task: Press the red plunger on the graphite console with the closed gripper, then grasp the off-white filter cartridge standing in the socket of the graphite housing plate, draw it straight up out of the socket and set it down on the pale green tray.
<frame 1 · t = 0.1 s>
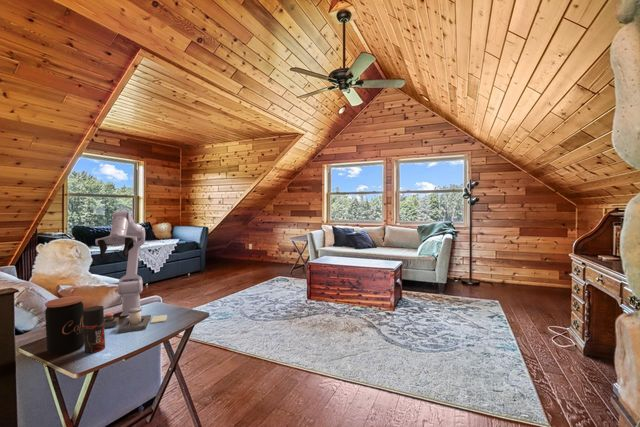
hand: (113, 255, 123), 32 cm above the table, tool tilted 50°, fingers open, 7 cm apart
cartridge: (135, 317, 133), in the housing
deodorant: (95, 350, 111), on the table
coffee jar: (66, 349, 112), on the table
housing: (135, 325, 134), on the table
plunger: (109, 318, 133), point 3 cm above the table, slide at 0.0 cm
tray: (159, 319, 140), on the table
console: (109, 325, 134), on the table
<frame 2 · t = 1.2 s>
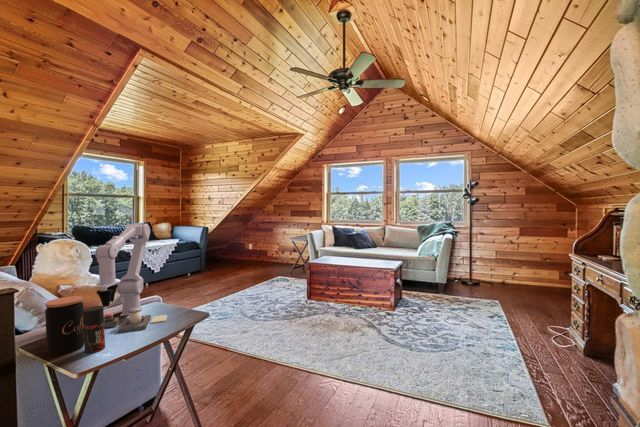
hand: (108, 303, 133), 10 cm above the table, tool pointing down, fingers open, 7 cm apart
nothing on the table moved.
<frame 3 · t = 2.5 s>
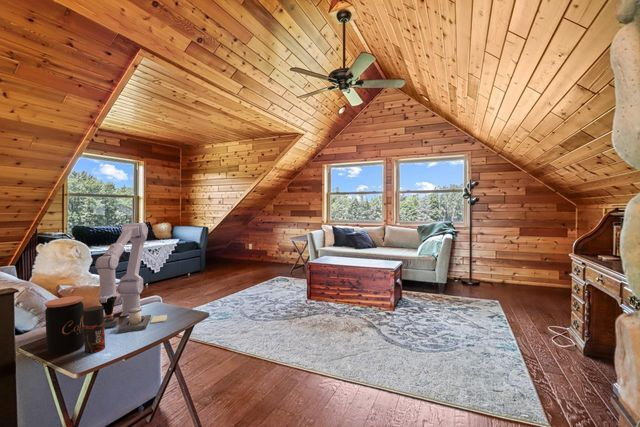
hand: (109, 314, 133), 5 cm above the table, tool pointing down, fingers closed, pressing on plunger
plunger: (109, 318, 133), point 3 cm above the table, slide at -0.1 cm, touching gripper
everything else where it was.
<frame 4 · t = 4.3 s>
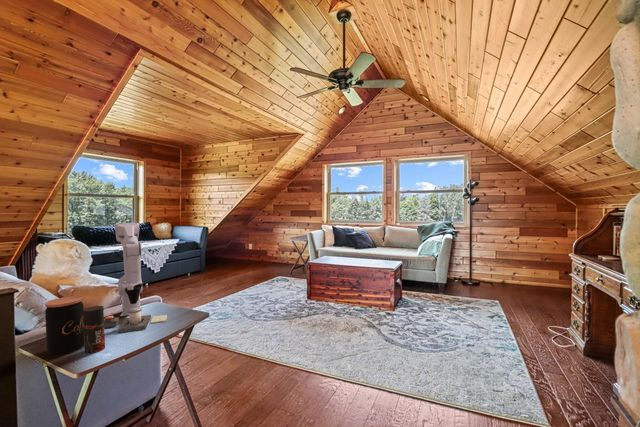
hand: (134, 302, 133), 10 cm above the table, tool pointing down, fingers open, 3 cm apart
plunger: (109, 320, 133), point 2 cm above the table, slide at -1.2 cm
everything else where it was.
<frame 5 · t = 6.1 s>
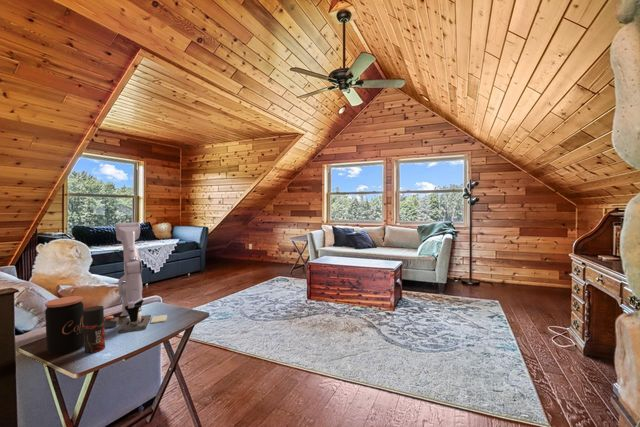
hand: (135, 319, 133), 2 cm above the table, tool pointing down, fingers closed on cartridge, 5 cm apart
cartridge: (135, 317, 133), in the housing, touching gripper
everything else where it was.
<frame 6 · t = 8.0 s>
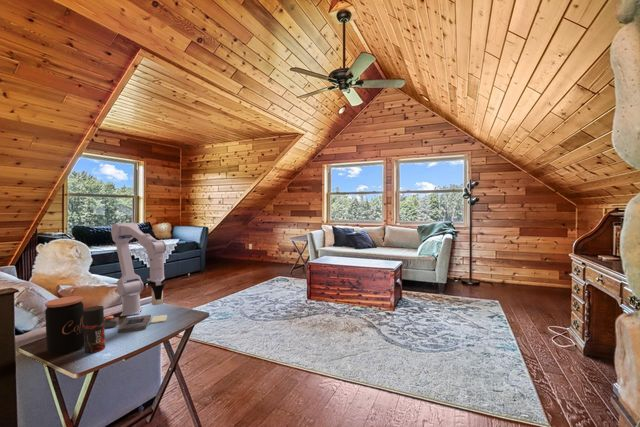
hand: (158, 298, 139), 10 cm above the table, tool pointing down, fingers closed on cartridge, 5 cm apart
cartridge: (157, 296, 139), point 11 cm above the table, touching gripper
everything else where it was.
when the fingers open (3 cm above the table, at t = 9.8 s): cartridge stays where it is, resting on tray.
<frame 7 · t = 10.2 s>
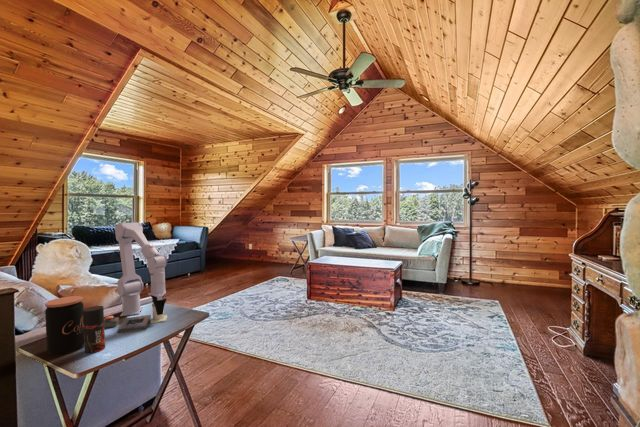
hand: (159, 312, 140), 3 cm above the table, tool pointing down, fingers open, 7 cm apart
cartridge: (158, 310, 139), on the tray
everything else where it was.
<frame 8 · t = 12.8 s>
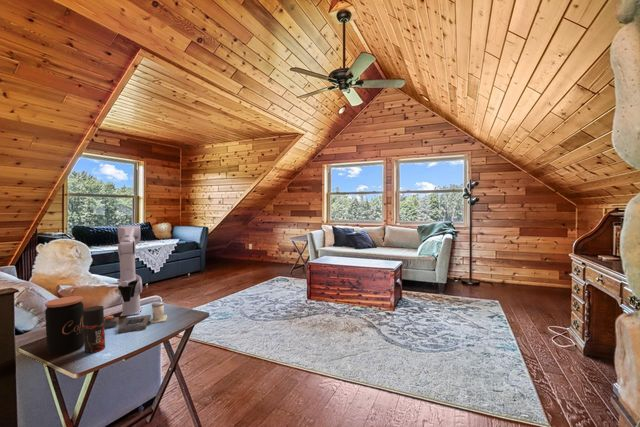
hand: (129, 299, 136), 10 cm above the table, tool pointing down, fingers open, 7 cm apart
nothing on the table moved.
at the end: cartridge inside the target area on the tray (0.3 cm from its centre), point 4.0 cm above the tray's base; cartridge tilted 1°; plunger slide at -1.2 cm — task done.
